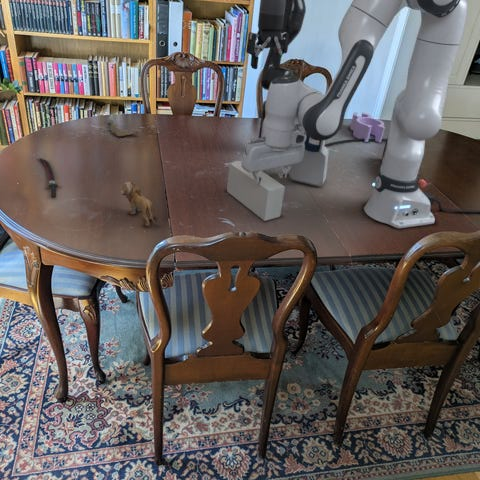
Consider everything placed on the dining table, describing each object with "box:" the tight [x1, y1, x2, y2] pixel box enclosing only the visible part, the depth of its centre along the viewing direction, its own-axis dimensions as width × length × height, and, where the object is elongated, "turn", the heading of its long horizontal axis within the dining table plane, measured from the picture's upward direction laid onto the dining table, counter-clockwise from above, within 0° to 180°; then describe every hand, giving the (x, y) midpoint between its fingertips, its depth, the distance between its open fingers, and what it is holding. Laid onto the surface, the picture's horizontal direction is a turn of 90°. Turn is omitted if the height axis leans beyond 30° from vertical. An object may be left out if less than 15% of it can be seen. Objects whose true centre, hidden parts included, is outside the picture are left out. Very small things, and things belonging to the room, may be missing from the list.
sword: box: [40, 158, 59, 198], centre depth 151 cm, size 31×3×1 cm, turn 26°
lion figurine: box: [119, 181, 159, 227], centre depth 134 cm, size 15×5×9 cm, turn 50°
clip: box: [349, 112, 386, 143], centre depth 214 cm, size 20×12×7 cm, turn 11°
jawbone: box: [108, 119, 142, 137], centre depth 191 cm, size 9×20×2 cm, turn 50°
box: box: [226, 160, 286, 222], centre depth 147 cm, size 21×6×10 cm, turn 34°
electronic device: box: [288, 93, 330, 188], centre depth 159 cm, size 12×8×30 cm, turn 71°
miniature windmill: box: [288, 58, 305, 131], centre depth 208 cm, size 9×8×30 cm
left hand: (265, 68), depth 148 cm, fingers open, 8 cm apart
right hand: (269, 180), depth 138 cm, fingers open, 8 cm apart
